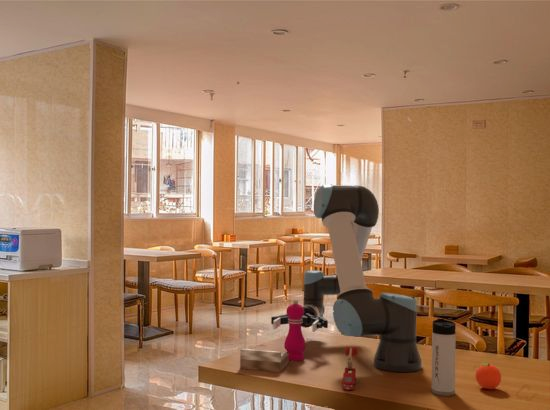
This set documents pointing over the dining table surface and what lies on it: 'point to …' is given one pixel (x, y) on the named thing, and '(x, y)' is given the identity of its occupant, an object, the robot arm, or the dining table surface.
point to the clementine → (488, 376)
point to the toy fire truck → (349, 378)
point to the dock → (263, 360)
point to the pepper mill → (295, 332)
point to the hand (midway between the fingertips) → (293, 326)
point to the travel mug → (443, 357)
